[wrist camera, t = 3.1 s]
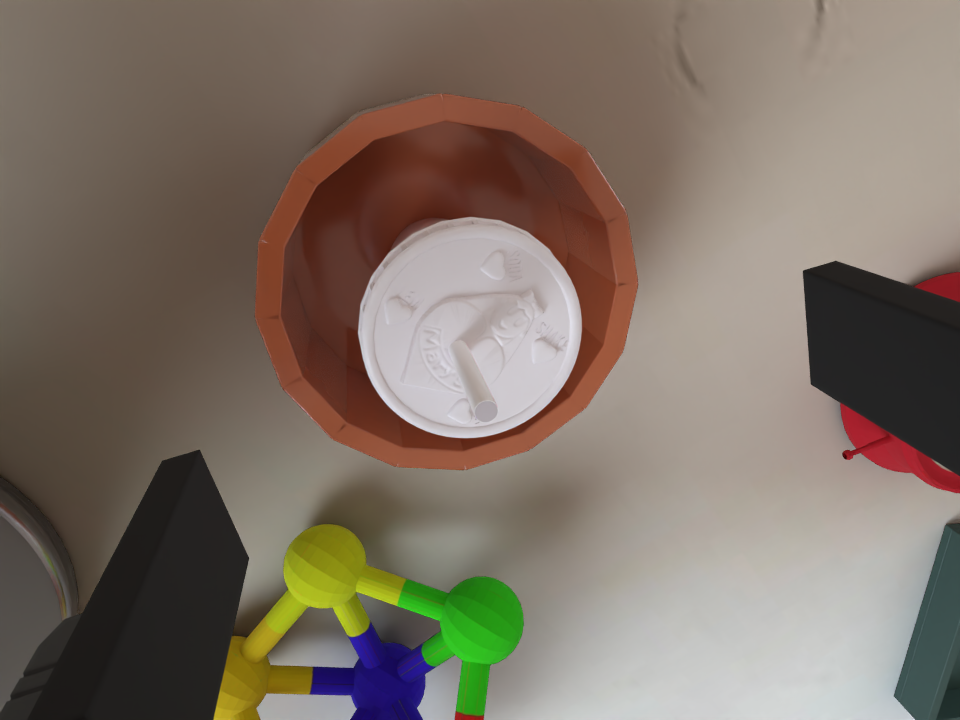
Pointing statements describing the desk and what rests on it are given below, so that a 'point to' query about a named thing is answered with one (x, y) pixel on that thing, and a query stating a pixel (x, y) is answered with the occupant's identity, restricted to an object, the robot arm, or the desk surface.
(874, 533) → the desk surface
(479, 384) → the smoothie
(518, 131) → the pot
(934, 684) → the tray
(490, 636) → the molecular model
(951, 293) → the alarm clock
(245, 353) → the desk surface
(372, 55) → the desk surface
